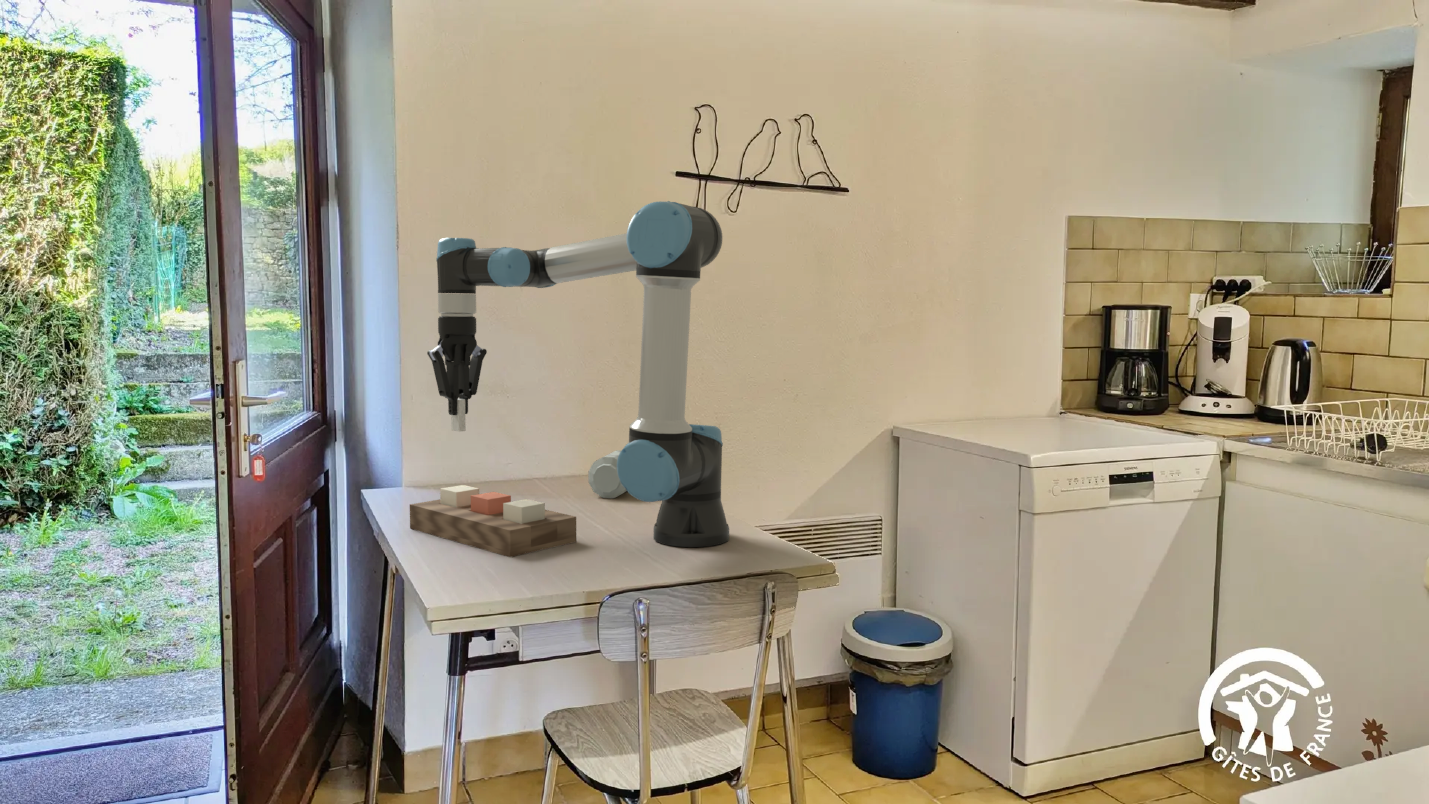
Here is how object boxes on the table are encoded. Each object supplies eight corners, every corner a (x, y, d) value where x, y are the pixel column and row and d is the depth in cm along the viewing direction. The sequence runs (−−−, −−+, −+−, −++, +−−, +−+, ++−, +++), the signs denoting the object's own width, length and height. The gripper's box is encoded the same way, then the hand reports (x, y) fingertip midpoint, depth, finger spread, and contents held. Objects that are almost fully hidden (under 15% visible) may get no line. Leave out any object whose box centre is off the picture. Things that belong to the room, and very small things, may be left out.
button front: (544, 526, 193) (544, 503, 192) (521, 530, 189) (521, 507, 188) (526, 521, 196) (526, 499, 196) (503, 526, 192) (503, 503, 192)
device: (626, 500, 235) (626, 458, 234) (586, 498, 237) (586, 456, 236) (659, 479, 265) (660, 442, 264) (623, 477, 267) (624, 440, 266)
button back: (479, 509, 206) (479, 488, 206) (456, 514, 202) (456, 492, 202) (463, 506, 210) (463, 485, 210) (440, 510, 206) (440, 488, 205)
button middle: (511, 517, 200) (510, 495, 199) (488, 522, 195) (487, 499, 195) (493, 513, 203) (493, 491, 203) (470, 517, 199) (470, 495, 199)
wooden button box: (576, 541, 195) (576, 516, 194) (510, 557, 183) (509, 530, 182) (475, 516, 216) (474, 493, 216) (410, 528, 204) (409, 504, 204)
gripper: (473, 314, 209) (474, 426, 212) (418, 314, 199) (420, 431, 202) (494, 315, 204) (495, 429, 207) (440, 315, 195) (441, 435, 197)
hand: (458, 430), depth 204 cm, fingers closed
